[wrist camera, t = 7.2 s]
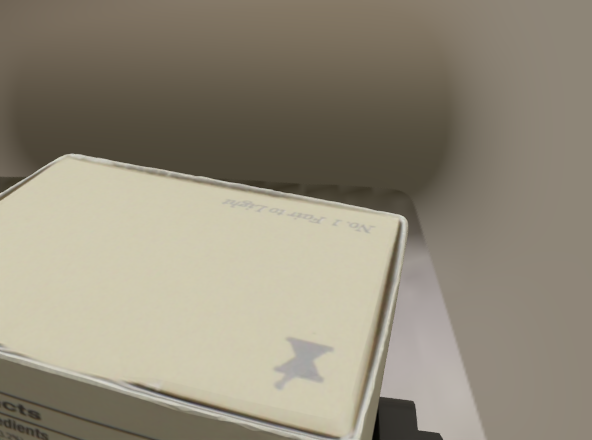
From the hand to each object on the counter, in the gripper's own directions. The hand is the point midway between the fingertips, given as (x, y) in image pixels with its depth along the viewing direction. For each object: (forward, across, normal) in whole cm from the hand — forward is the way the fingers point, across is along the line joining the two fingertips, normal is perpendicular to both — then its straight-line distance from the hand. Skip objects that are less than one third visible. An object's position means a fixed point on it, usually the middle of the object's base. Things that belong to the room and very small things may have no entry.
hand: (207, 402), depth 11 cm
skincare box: (-2, 0, +7) cm, 8 cm away
